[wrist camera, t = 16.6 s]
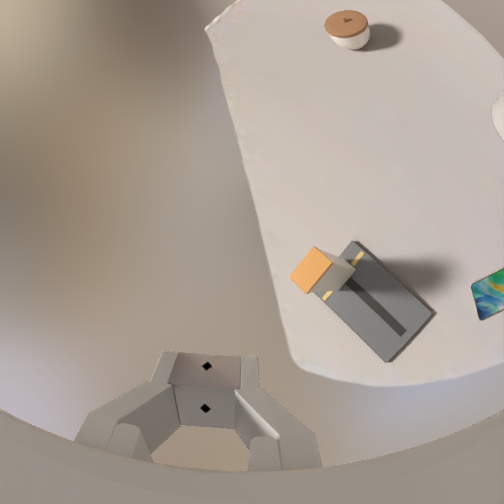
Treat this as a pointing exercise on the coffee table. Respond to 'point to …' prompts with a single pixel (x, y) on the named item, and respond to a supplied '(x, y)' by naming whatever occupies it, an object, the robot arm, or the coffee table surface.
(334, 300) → the board
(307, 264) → the fader tab
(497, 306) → the smartphone
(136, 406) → the robot arm
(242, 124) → the coffee table surface
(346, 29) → the lidded jar
